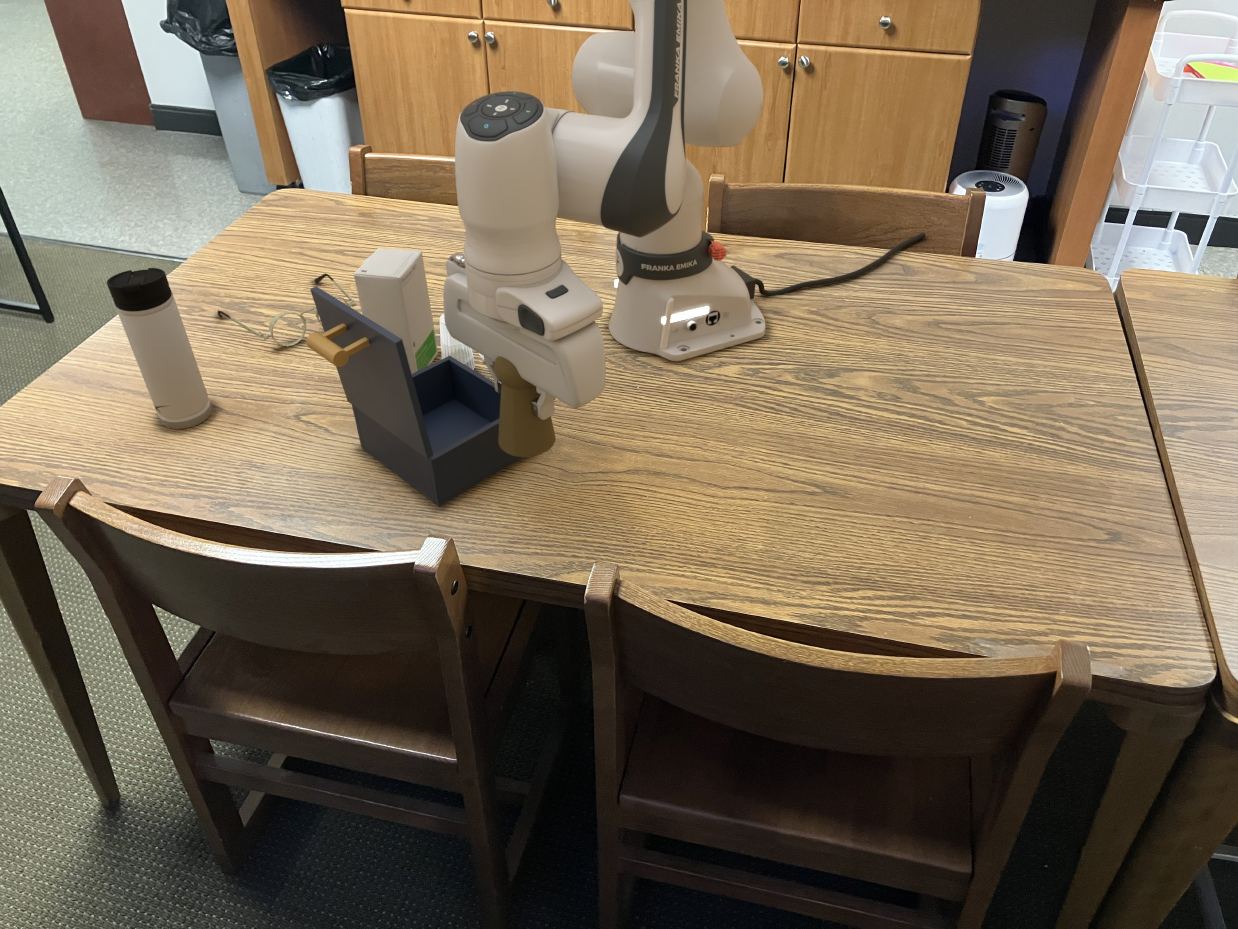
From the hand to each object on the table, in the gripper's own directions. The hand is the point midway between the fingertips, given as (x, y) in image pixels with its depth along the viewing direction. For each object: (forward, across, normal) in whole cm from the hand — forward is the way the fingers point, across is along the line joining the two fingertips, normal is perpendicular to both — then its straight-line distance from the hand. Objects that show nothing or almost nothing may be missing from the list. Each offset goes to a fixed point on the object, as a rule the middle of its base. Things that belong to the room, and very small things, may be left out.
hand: (524, 403), depth 95 cm
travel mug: (+15, -45, -19) cm, 51 cm away
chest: (+14, -16, 0) cm, 21 cm away
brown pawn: (+5, 0, 0) cm, 5 cm away
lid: (0, -15, -7) cm, 17 cm away
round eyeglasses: (+15, -57, +4) cm, 59 cm away
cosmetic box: (+15, -34, +8) cm, 38 cm away
